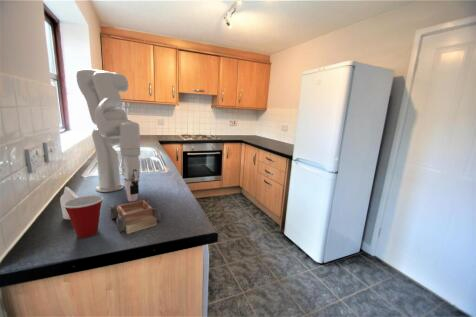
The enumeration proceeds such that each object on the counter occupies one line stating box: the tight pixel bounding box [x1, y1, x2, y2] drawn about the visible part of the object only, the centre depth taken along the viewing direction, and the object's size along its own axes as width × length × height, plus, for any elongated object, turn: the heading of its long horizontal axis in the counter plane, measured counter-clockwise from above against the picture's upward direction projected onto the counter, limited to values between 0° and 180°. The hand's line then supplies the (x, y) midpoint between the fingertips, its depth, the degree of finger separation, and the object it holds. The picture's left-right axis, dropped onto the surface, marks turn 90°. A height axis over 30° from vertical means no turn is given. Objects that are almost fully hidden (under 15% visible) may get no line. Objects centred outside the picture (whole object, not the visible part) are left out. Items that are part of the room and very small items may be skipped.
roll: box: [59, 186, 79, 220], centre depth 82 cm, size 6×12×6 cm
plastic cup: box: [63, 194, 104, 239], centre depth 71 cm, size 11×11×12 cm
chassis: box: [109, 198, 161, 235], centre depth 82 cm, size 18×14×5 cm
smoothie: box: [123, 177, 140, 202], centre depth 95 cm, size 6×6×14 cm
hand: (132, 190), depth 96 cm, fingers closed on smoothie, 6 cm apart
